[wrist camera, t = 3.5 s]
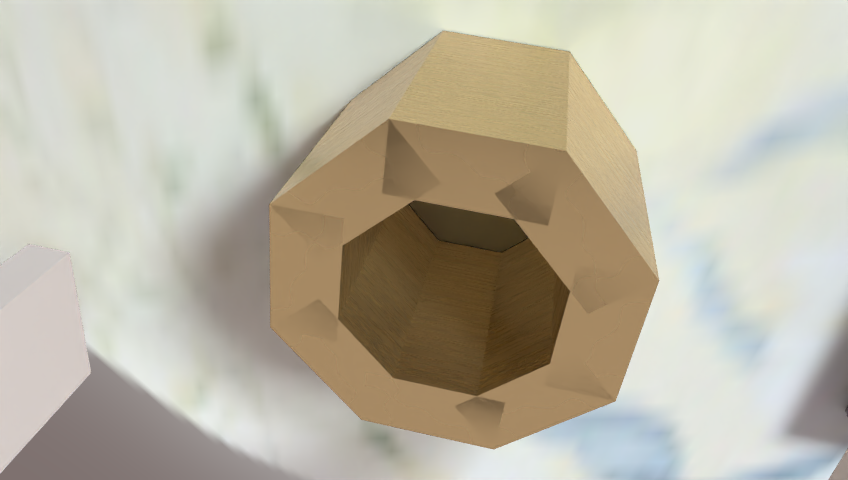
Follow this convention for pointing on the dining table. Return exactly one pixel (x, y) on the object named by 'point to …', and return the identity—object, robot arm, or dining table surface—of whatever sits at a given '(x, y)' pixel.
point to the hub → (462, 265)
